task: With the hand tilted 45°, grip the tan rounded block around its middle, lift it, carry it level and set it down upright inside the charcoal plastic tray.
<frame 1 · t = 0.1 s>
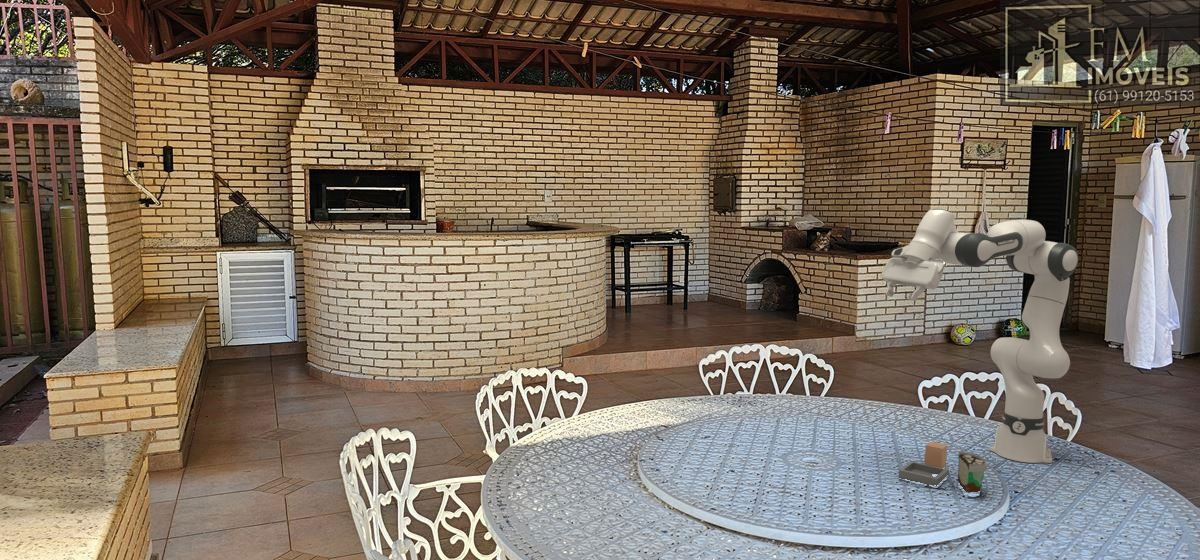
hand: (899, 297, 229), 54 cm above the table, tool tilted 30°, fingers open, 8 cm apart
tan rounded block: (934, 470, 239), on the table
tray: (923, 479, 231), on the table
food container: (972, 493, 221), on the table
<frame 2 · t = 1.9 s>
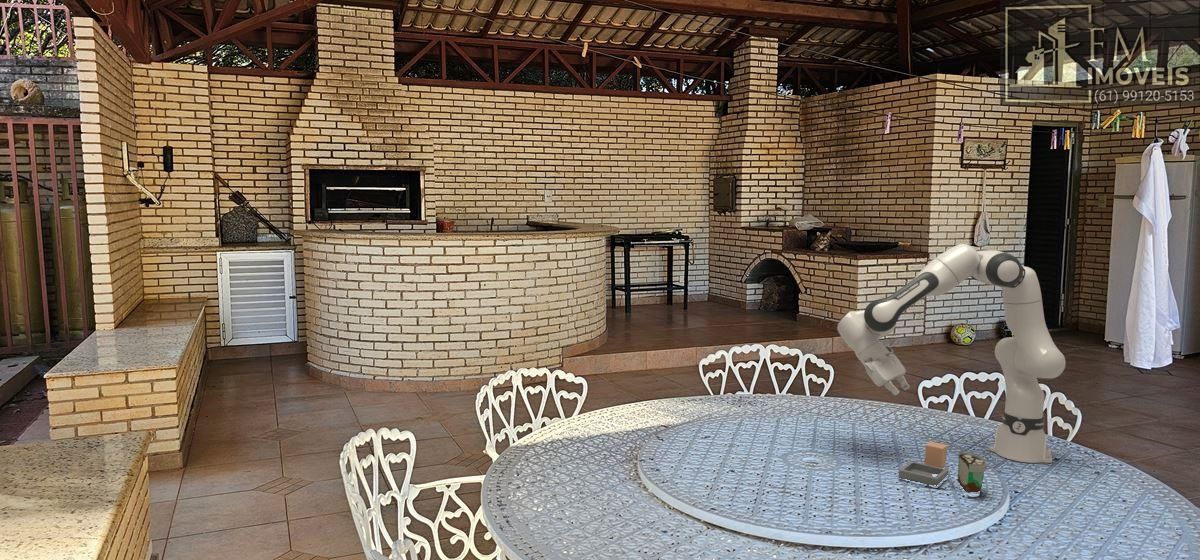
hand: (902, 391, 244), 23 cm above the table, tool tilted 45°, fingers open, 8 cm apart
nothing on the table moved.
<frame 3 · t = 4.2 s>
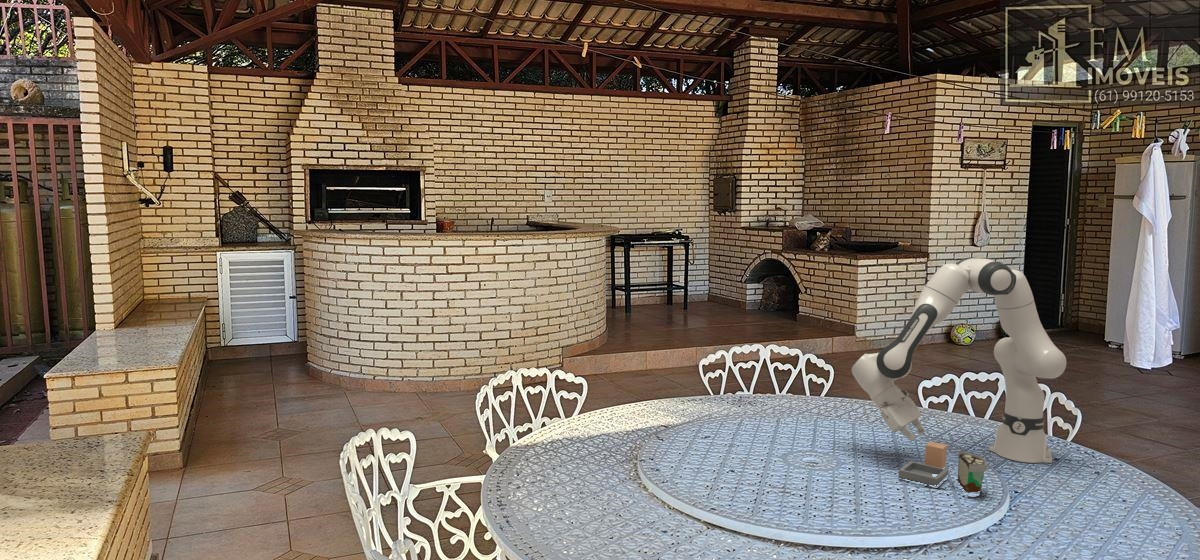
hand: (918, 436, 242), 9 cm above the table, tool tilted 45°, fingers open, 8 cm apart
nothing on the table moved.
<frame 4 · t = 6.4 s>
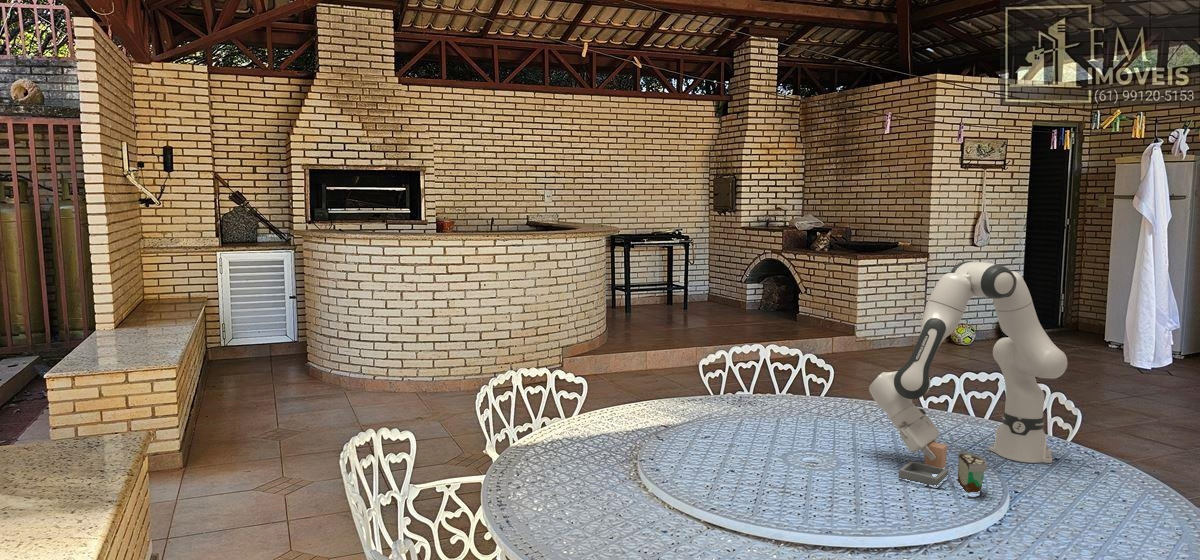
hand: (937, 456, 239), 4 cm above the table, tool tilted 45°, fingers closed on tan rounded block, 5 cm apart
tan rounded block: (934, 469, 239), on the table, touching gripper
everything else where it was.
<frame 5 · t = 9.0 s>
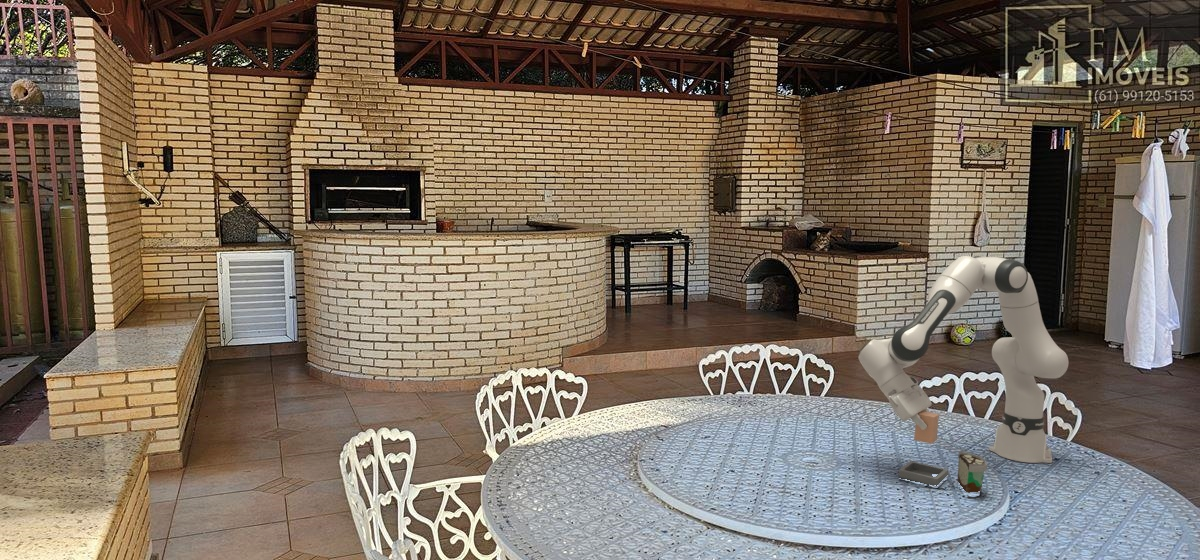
hand: (929, 426, 229), 17 cm above the table, tool tilted 45°, fingers closed on tan rounded block, 5 cm apart
tan rounded block: (925, 440, 229), point 12 cm above the table, touching gripper
everything else where it was.
when the fingers open (7 cm above the table, at t = 11.6 s): tan rounded block drops 1 cm, resting on tray.
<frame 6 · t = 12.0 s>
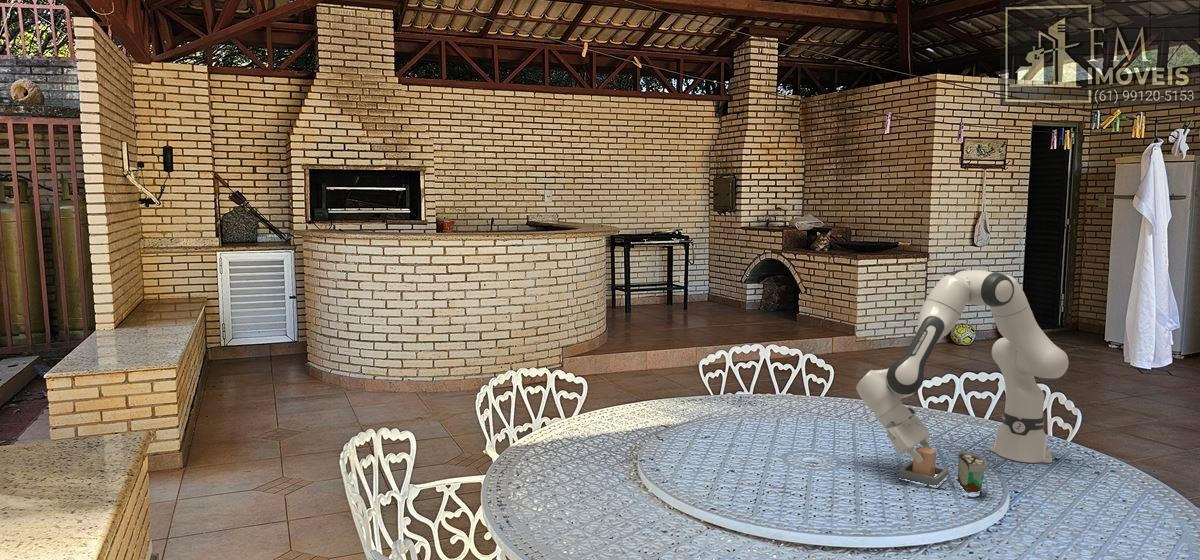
hand: (927, 457, 229), 7 cm above the table, tool tilted 45°, fingers open, 8 cm apart
tan rounded block: (923, 476, 231), point 1 cm above the table, touching tray
everything else where it was.
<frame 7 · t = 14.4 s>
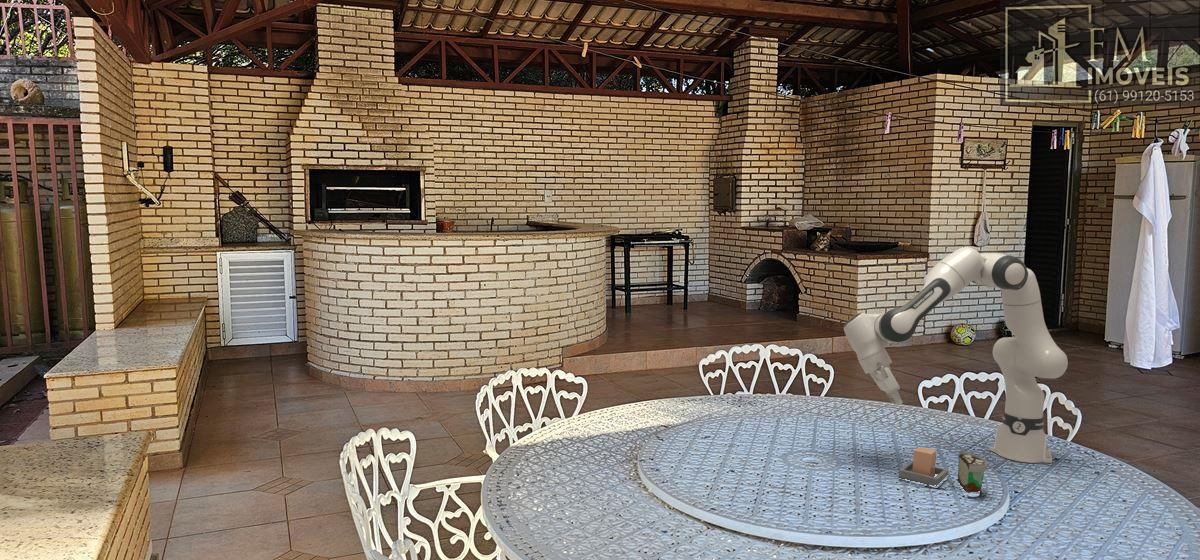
hand: (897, 403, 239), 20 cm above the table, tool tilted 30°, fingers open, 8 cm apart
nothing on the table moved.
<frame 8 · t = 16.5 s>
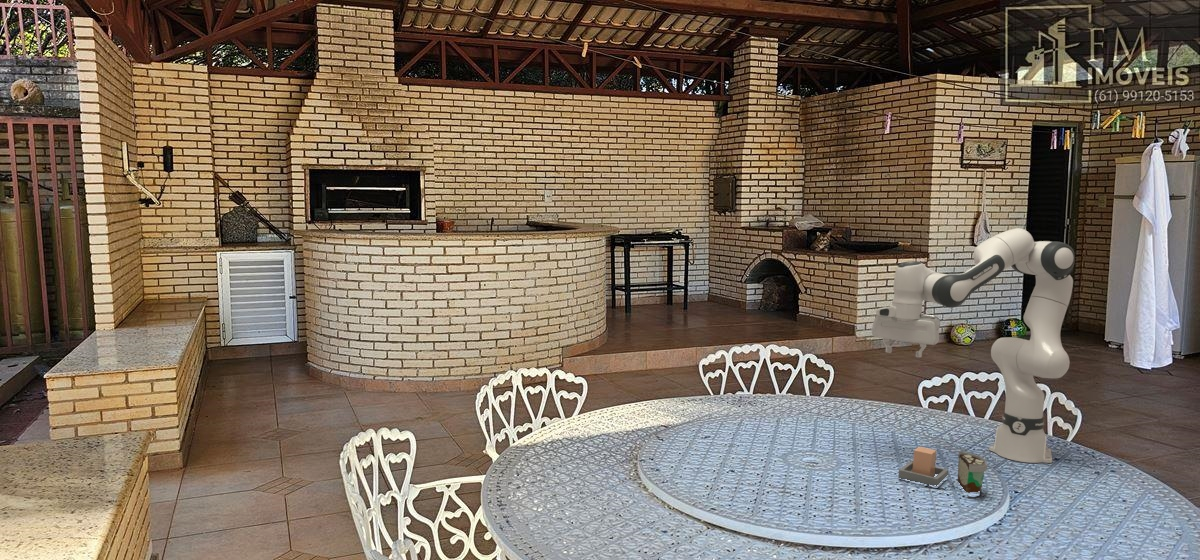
hand: (903, 354, 246), 34 cm above the table, tool pointing down, fingers open, 8 cm apart
nothing on the table moved.
at the end: tan rounded block 0.1 cm off-centre on the tray, point 1.0 cm above the tray's base; tan rounded block tilted 0°; the gripper is holding nothing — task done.
